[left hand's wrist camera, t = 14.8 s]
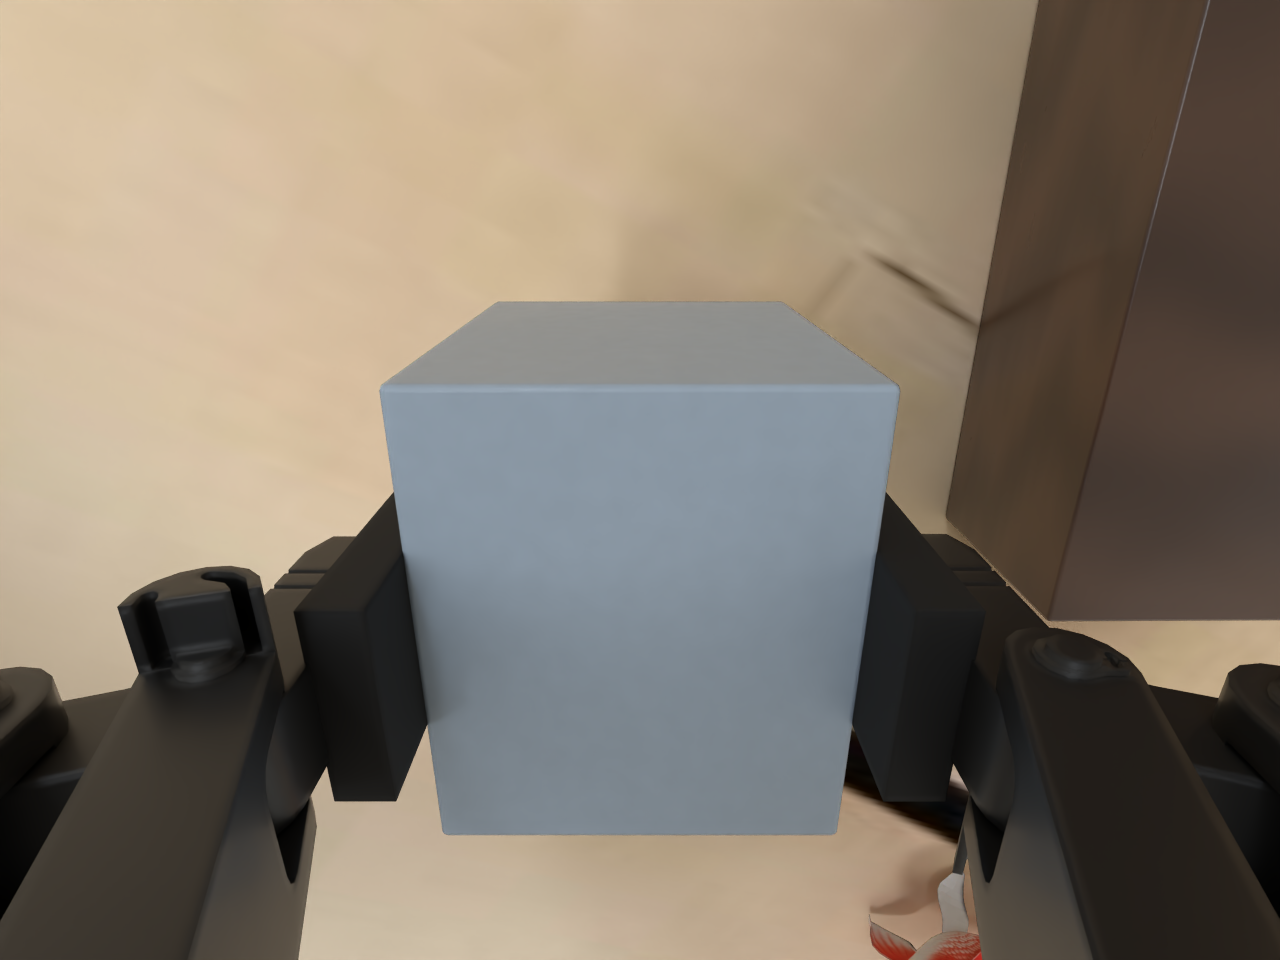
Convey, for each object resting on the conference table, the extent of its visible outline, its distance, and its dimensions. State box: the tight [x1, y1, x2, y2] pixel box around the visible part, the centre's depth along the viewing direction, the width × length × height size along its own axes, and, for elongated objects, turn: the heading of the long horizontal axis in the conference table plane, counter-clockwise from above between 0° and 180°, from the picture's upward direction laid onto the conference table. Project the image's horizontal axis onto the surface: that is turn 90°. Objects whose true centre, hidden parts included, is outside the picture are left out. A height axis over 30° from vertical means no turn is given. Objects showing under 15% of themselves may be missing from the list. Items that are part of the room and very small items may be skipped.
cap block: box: [380, 302, 900, 835], centre depth 12 cm, size 7×6×7 cm
